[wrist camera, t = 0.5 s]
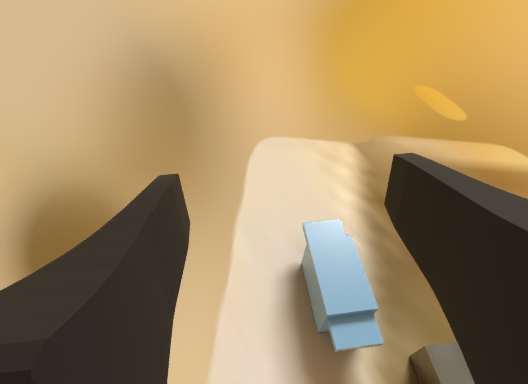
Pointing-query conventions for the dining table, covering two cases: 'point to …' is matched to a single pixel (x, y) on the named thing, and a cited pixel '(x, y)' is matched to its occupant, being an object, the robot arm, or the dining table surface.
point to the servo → (339, 287)
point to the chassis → (441, 365)
